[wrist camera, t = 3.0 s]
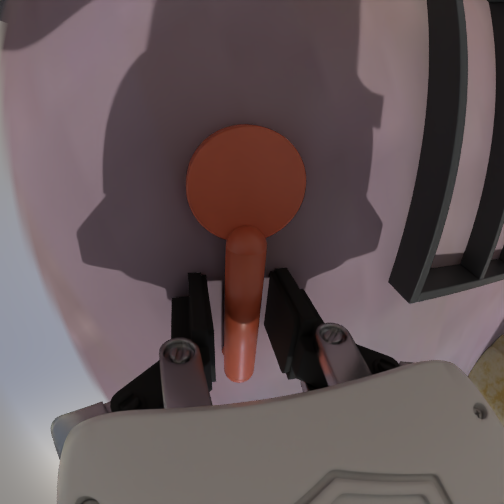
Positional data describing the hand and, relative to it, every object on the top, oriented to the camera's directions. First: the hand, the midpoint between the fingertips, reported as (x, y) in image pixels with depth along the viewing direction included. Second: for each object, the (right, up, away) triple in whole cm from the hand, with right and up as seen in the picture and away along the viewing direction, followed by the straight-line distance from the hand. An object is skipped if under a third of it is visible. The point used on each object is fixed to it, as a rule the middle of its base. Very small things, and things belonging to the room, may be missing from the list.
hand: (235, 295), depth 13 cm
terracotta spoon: (0, +2, 0) cm, 2 cm away
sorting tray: (+15, +10, -1) cm, 18 cm away
